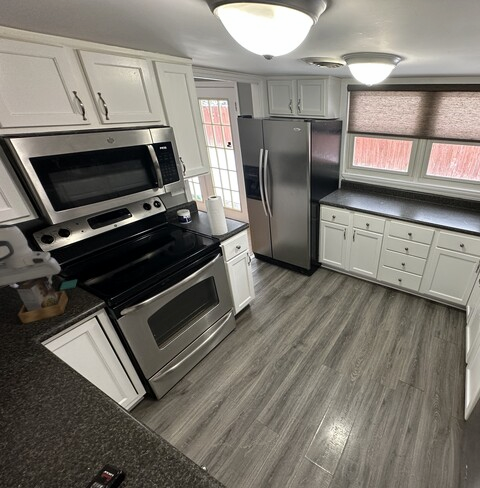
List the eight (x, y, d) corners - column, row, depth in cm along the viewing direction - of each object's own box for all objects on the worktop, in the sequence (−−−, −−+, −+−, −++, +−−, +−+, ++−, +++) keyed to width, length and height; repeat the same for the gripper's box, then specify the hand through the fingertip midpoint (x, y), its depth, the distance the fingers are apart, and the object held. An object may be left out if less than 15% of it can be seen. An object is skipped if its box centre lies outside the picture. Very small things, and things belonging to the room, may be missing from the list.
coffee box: (47, 304, 127) (32, 276, 120) (62, 303, 128) (48, 275, 121) (30, 317, 119) (13, 287, 112) (46, 316, 120) (30, 287, 113)
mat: (60, 290, 137) (59, 289, 137) (62, 283, 143) (62, 282, 143) (75, 287, 140) (74, 286, 140) (77, 280, 146) (77, 279, 146)
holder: (22, 324, 115) (17, 315, 113) (31, 307, 125) (26, 298, 123) (63, 313, 122) (58, 304, 120) (68, 298, 132) (64, 290, 129)
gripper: (-19, 270, 104) (-1, 298, 110) (51, 257, 114) (64, 283, 121) (-13, 263, 109) (4, 290, 115) (54, 251, 119) (66, 276, 125)
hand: (35, 286), depth 118 cm, fingers open, 8 cm apart
